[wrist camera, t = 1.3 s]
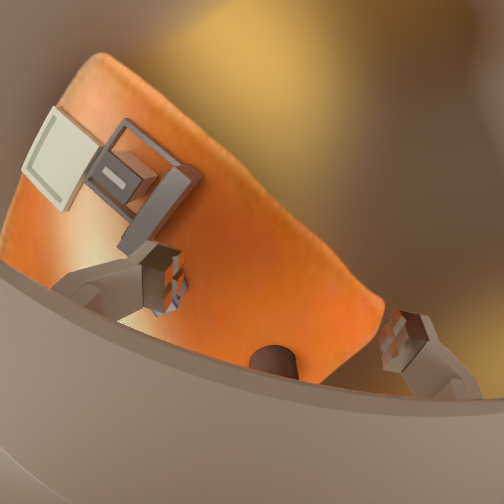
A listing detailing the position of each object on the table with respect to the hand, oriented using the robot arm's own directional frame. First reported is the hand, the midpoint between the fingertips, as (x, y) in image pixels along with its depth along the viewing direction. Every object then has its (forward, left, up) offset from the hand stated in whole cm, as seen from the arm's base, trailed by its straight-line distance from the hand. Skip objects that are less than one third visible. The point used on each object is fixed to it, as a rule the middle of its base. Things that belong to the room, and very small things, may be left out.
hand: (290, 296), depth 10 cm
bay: (-11, +16, -36) cm, 41 cm away
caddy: (-11, +17, -36) cm, 41 cm away
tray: (-18, +32, -36) cm, 52 cm away
